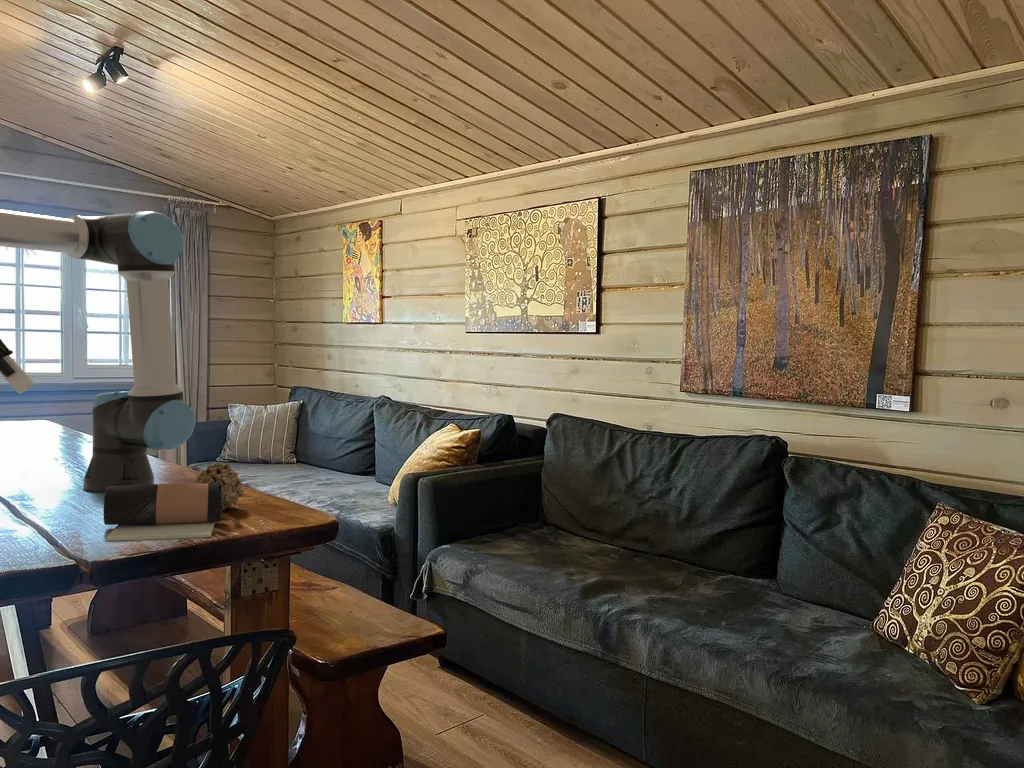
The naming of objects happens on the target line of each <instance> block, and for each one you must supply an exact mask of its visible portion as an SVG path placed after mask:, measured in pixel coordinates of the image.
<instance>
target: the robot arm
mask: <svg viewBox="0 0 1024 768" xmlns="http://www.w3.org/2000/svg"><path fill="white" fill-rule="evenodd" d="M0 247H4V248H14V249H16V248H17V249H25V250H35V251H43V252H55V253H63V254H64V253H65V254H67V256H69V257H70V258H71V259H77V260H78V259H79V260H85V261H93V262H98V263H102V264H103V263H105V264H108V265H115V266H117V273H118V274H119V276H121V277H122V278H123V279H124V280H125V281H126V293H127V304H128V305H127V307H128V318H129V330H130V331H129V332H130V345H131V347H130V348H131V358H132V359H131V360H132V361H131V362H132V369H133V370H132V372H133V386H132V388H131V389H130V390H127V391H113V392H103V393H98V394H96V396H94V399H93V405H92V409H91V411H92V455H91V456H92V457H91V459H90V461H89V464H88V467H87V469H86V471H85V472H86V473H85V475H84V477H83V489H84V490H86V491H92V492H102V493H103V492H104V493H105V491H106V488H107V487H108V486H125V485H147V484H155V476H154V472H153V469H152V466H151V463H150V460H149V457H148V454H147V453H148V449H152V450H154V451H163V450H164V451H165V450H166V451H167V450H168V451H169V450H174V449H176V448H177V449H178V448H179V447H181V446H182V445H184V444H185V443H186V442H187V441H188V439H189V438H190V437H191V436H192V434H193V432H194V429H195V426H196V415H195V411H194V409H193V408H192V407H191V406H190V404H188V403H187V402H185V400H184V390H183V388H181V387H180V386H179V385H178V384H177V383H176V374H175V361H174V359H175V357H174V345H173V331H172V317H171V303H170V301H171V300H170V289H169V286H170V285H169V281H170V278H171V277H173V276H174V275H175V274H176V271H175V269H176V268H175V262H176V261H178V260H179V259H180V256H182V254H183V252H184V247H185V242H184V237H183V234H182V231H181V230H180V227H179V226H178V224H177V223H176V222H175V221H173V219H172V218H171V217H169V216H167V215H166V214H163V213H160V212H157V211H148V210H145V211H140V210H139V211H137V212H136V211H135V212H128V213H120V214H119V213H118V214H107V215H99V216H86V215H85V216H83V215H77V214H76V215H75V214H74V215H73V214H72V215H70V216H69V217H68V218H66V217H65V218H64V217H57V216H51V215H41V214H37V213H35V214H34V213H28V212H21V211H13V210H7V209H0ZM13 353H14V352H13V350H11V349H9V348H8V346H7V345H6V344H5V343H4V342H3V340H2V339H1V338H0V375H1V376H2V377H3V379H5V381H7V382H8V384H9V385H10V386H11V387H12V388H13V389H14V390H15V391H16V393H18V394H20V395H21V394H23V393H25V392H26V391H28V390H29V389H30V388H31V387H33V386H35V385H36V383H35V382H34V380H32V379H31V377H29V376H28V375H27V373H26V372H25V371H24V370H23V369H22V368H21V367H20V365H18V363H17V362H16V361H15V360H14V359H13V358H12V357H11V355H12V354H13Z"/></svg>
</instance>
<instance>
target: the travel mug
mask: <svg viewBox="0 0 1024 768" xmlns="http://www.w3.org/2000/svg"><path fill="white" fill-rule="evenodd" d="M221 488H222V484H221V483H209V484H196V483H158V484H157V483H154V484H147V485H125V486H108V487H107V488H106V491H105V492H104V498H103V499H104V500H103V523H104V525H106V526H107V525H108V526H109V525H110V526H117V525H150V524H177V523H199V522H215V523H216V522H221V521H222V512H221V502H222V494H221Z"/></svg>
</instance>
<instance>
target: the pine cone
mask: <svg viewBox="0 0 1024 768" xmlns="http://www.w3.org/2000/svg"><path fill="white" fill-rule="evenodd" d="M238 476H239V472H236V471H235V469H234V468H233V467H231V466H230V463H224V464H223V463H222V461H221V462H219V461H218V462H216V461H215V462H214V463H213V464H212V465H211V464H210V463H209V464H208V466H206V469H205V470H201V469H199V474H197V475H195V478H196V481H194V484H209V483H221V484H222V488H221V494H222V502H221V513H222V512H223V511H224V510H225V509H228V508H230V509H231V510H233V505H234V506H238V505H237V503H238V500H239V499H240V498H243V497H244V495H243V494H244V492H245V490H244V489H242V487H243V486H244V484H243V483H242V480H243V479H242V478H241V477H238Z"/></svg>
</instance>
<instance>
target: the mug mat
mask: <svg viewBox="0 0 1024 768" xmlns="http://www.w3.org/2000/svg"><path fill="white" fill-rule="evenodd" d="M215 525H216V522H199V523H177V524H150V525H115V527H114V528H113V530H112V531H111V532H110V533H109V534H108V536H106V542H110V541H111V542H112V541H113V542H114V541H139V540H140V541H141V540H163V539H165V540H168V539H169V540H170V539H193V538H211V537H212V533H213V530H214V527H215Z"/></svg>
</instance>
